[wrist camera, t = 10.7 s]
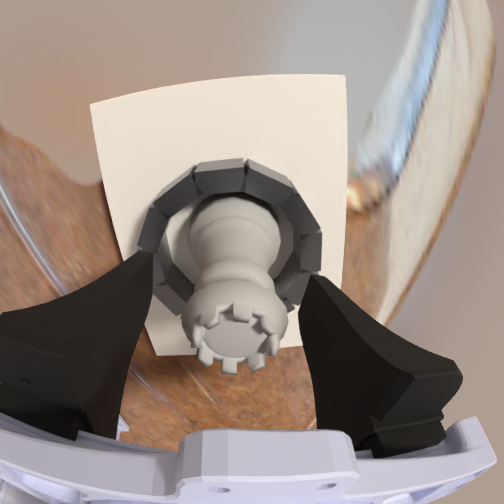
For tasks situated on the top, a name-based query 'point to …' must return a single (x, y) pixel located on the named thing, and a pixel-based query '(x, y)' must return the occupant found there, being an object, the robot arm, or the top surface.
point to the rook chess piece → (234, 282)
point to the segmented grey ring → (224, 181)
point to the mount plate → (220, 148)
